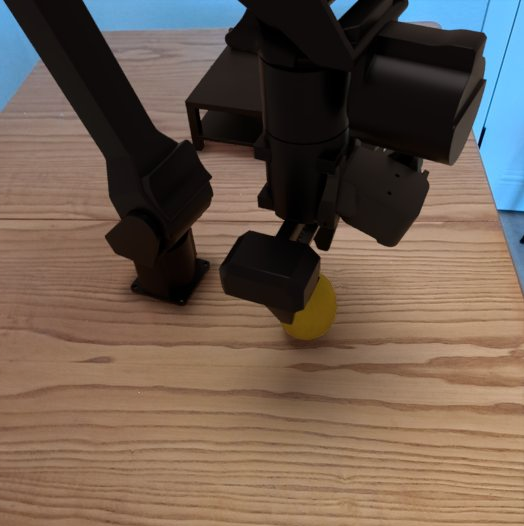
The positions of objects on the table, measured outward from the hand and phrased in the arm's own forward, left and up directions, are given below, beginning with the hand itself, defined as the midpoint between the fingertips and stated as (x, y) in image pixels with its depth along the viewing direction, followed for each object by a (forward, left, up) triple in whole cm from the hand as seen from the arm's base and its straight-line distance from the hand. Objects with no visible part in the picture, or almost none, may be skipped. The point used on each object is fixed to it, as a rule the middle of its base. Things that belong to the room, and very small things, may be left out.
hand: (305, 284), depth 50 cm
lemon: (0, 0, -7) cm, 7 cm away
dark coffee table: (+32, +18, -7) cm, 37 cm away
